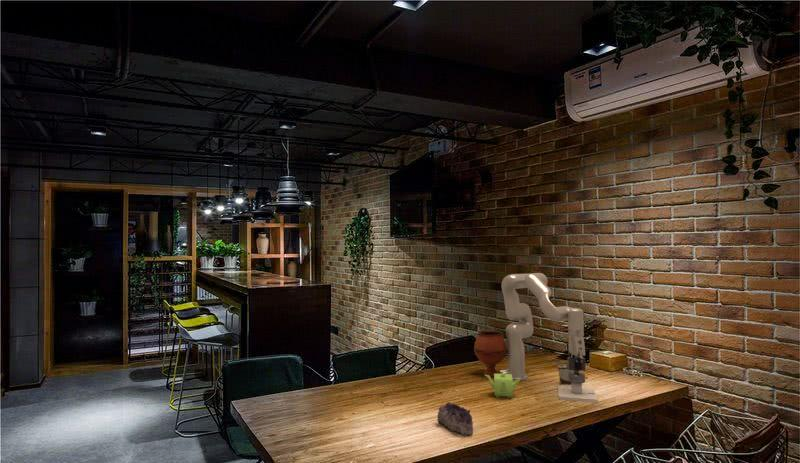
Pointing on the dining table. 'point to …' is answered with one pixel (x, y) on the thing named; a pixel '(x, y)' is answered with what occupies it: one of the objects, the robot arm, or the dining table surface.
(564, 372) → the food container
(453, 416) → the geode
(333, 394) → the dining table surface
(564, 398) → the post base
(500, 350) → the goblet
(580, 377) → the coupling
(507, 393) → the kettle
